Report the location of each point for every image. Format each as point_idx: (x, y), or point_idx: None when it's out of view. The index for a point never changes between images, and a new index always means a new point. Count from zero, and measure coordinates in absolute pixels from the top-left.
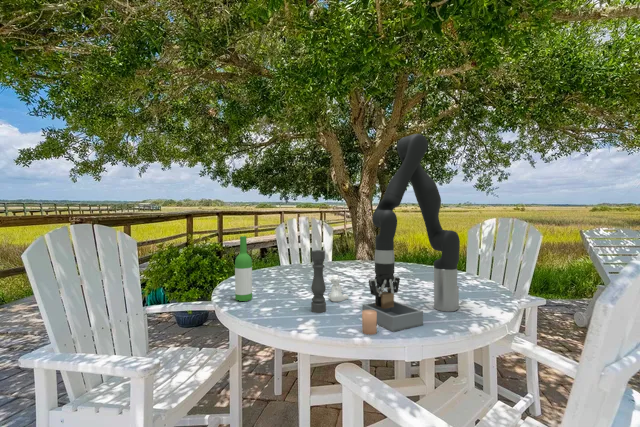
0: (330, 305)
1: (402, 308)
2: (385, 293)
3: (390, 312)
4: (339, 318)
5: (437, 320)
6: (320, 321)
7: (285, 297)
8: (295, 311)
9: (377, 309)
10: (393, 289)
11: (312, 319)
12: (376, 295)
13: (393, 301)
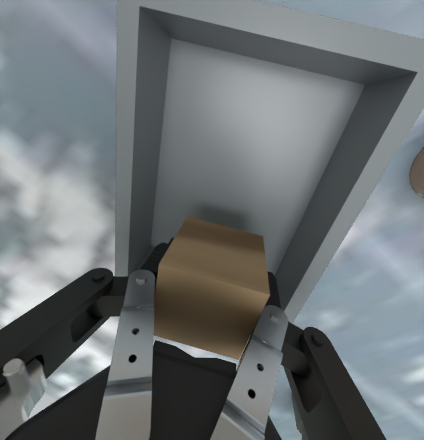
0: None
1: (140, 185)
2: (200, 311)
3: (159, 240)
4: (346, 330)
5: (34, 8)
6: (420, 355)
7: None
8: None
9: None
10: (101, 308)
11: (413, 376)
12: (309, 329)
13: (180, 232)
